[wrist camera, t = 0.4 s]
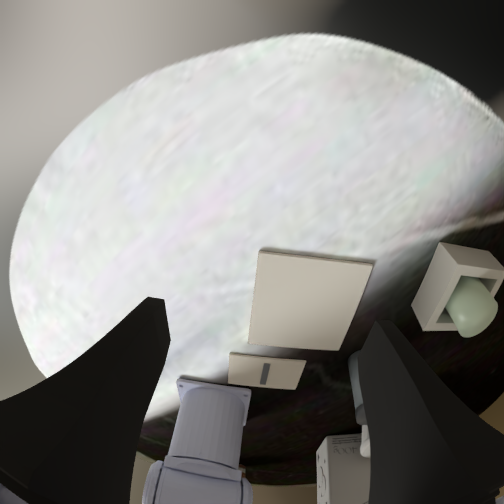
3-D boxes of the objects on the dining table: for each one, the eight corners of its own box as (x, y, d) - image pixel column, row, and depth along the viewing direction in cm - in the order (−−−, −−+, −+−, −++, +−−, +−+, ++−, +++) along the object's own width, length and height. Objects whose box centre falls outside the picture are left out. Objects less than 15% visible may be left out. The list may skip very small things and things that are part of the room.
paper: (338, 347, 24) (338, 350, 23) (248, 340, 24) (247, 343, 24) (371, 263, 19) (372, 266, 19) (258, 250, 19) (258, 253, 19)
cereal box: (445, 417, 33) (469, 540, 12) (425, 435, 37) (442, 546, 16) (326, 434, 34) (327, 585, 13) (315, 450, 38) (314, 579, 17)
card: (295, 388, 27) (295, 390, 27) (228, 381, 27) (227, 384, 27) (306, 360, 25) (306, 362, 25) (229, 353, 25) (229, 355, 25)
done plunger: (463, 305, 19) (481, 336, 16) (433, 303, 19) (451, 338, 16) (481, 270, 17) (504, 300, 14) (451, 266, 17) (475, 298, 14)
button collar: (460, 307, 21) (473, 329, 18) (411, 305, 21) (423, 330, 18) (488, 251, 18) (507, 271, 15) (439, 241, 18) (457, 264, 15)
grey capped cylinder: (371, 368, 25) (383, 423, 20) (342, 368, 25) (351, 426, 20) (383, 348, 24) (399, 406, 18) (353, 347, 24) (365, 409, 18)
